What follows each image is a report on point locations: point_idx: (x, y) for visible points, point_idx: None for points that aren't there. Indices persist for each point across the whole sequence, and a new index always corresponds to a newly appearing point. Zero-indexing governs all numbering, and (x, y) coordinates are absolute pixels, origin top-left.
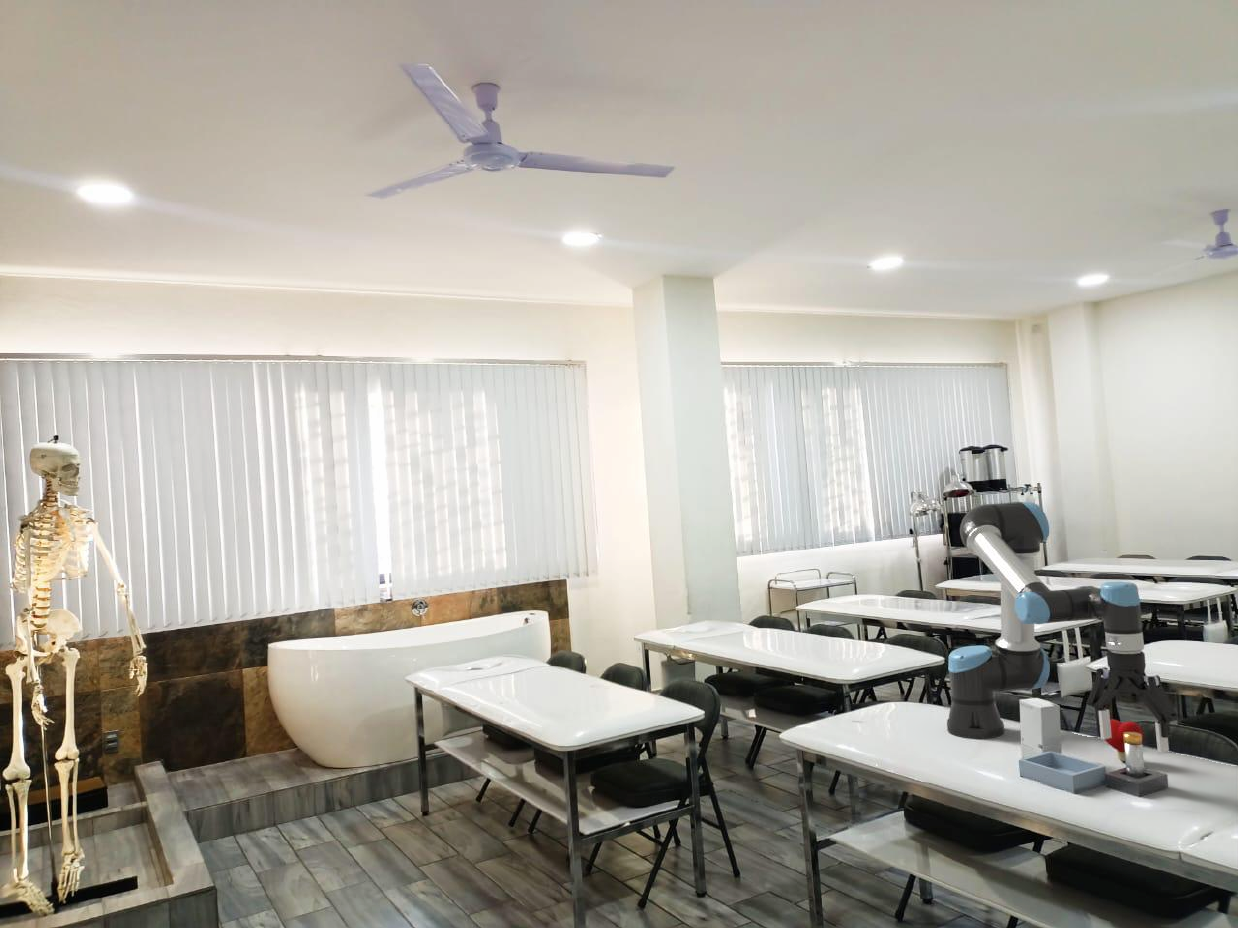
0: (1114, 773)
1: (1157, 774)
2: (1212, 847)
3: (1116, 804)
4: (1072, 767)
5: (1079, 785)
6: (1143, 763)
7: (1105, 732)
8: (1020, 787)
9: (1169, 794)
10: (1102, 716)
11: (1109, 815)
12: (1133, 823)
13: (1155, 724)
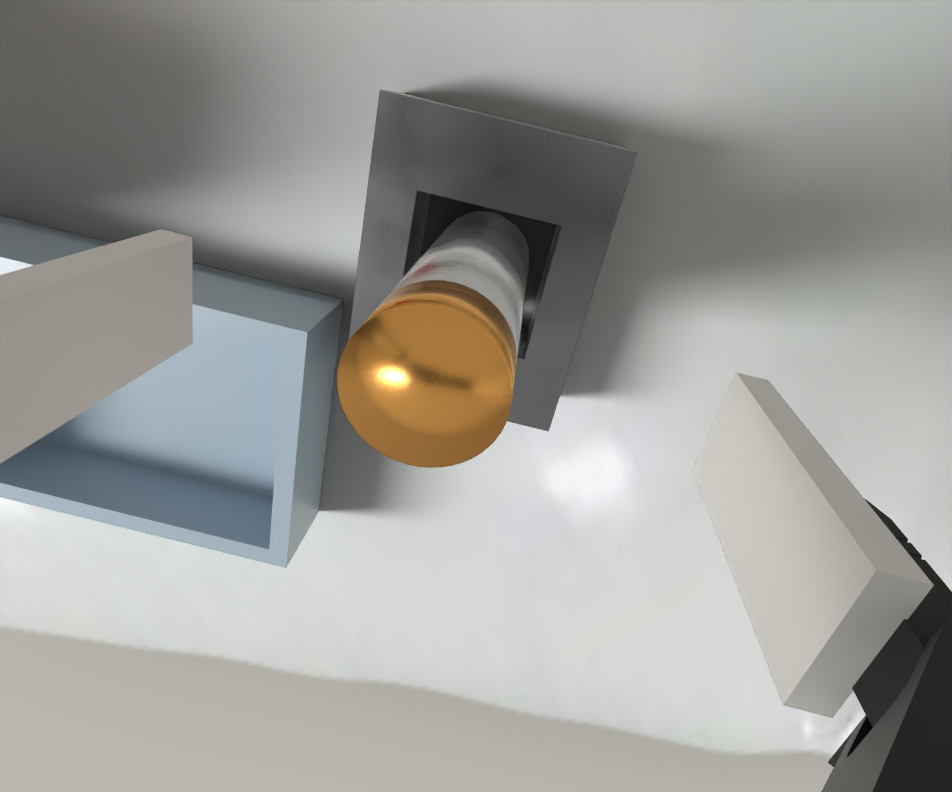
0: None
1: (584, 201)
2: None
3: (507, 533)
4: None
5: (312, 496)
6: (523, 298)
7: (155, 335)
8: (140, 555)
9: (661, 267)
10: (20, 441)
11: (534, 641)
12: (631, 665)
13: (779, 683)
